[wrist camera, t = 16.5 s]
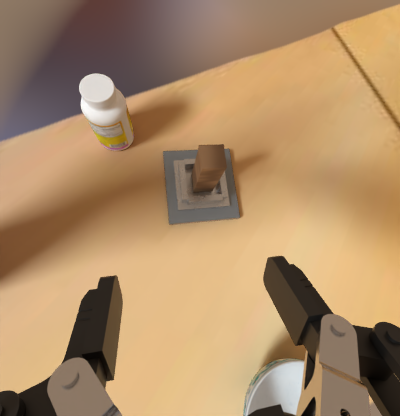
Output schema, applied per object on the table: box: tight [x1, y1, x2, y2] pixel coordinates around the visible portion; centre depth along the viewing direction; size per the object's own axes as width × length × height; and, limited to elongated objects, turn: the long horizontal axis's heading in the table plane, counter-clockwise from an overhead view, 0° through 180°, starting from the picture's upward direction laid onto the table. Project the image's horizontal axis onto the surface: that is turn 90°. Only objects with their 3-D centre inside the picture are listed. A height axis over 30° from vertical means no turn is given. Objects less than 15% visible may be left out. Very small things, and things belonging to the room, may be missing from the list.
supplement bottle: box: [79, 74, 134, 151], centre depth 38 cm, size 7×7×13 cm
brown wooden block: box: [191, 144, 227, 193], centre depth 37 cm, size 4×4×11 cm
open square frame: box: [173, 159, 230, 211], centre depth 42 cm, size 10×10×3 cm
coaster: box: [163, 149, 240, 225], centre depth 44 cm, size 13×14×1 cm
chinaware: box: [243, 358, 304, 416], centre depth 34 cm, size 15×15×8 cm
